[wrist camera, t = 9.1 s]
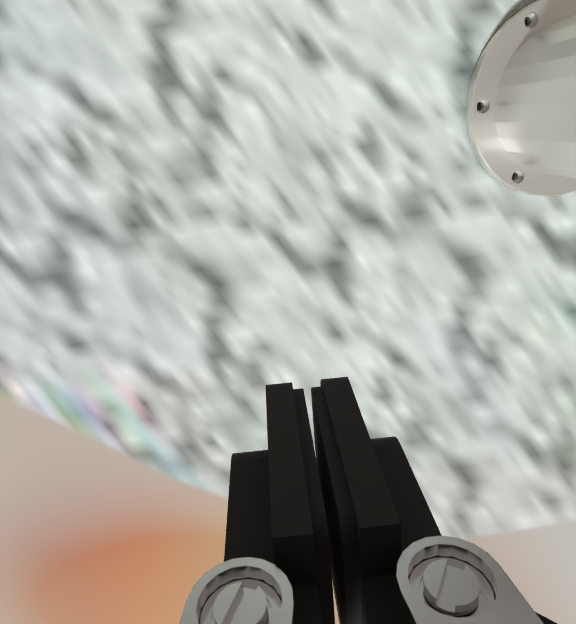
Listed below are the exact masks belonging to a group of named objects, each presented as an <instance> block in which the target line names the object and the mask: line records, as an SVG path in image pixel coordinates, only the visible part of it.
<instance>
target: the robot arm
mask: <svg viewBox="0 0 576 624" xmlns="http://www.w3.org/2000/svg"><path fill="white" fill-rule="evenodd" d="M525 19H526V20H527V22H528V23H527V26H526V25H525V22H524V20H525ZM478 103H480V104H481V108H480V109H479V110H477V104H478ZM466 121H467V131H468V135H469V138H470V142H471V146H472V148H473V150H474V152H475V154H476V156H477V158H478V160H479V162H480V163H481V165H482V166H483V167H484V168H485V169H486V171H487V172H488V173H489V174H490V175H491V176H492V177H493V178H495V179H496V180H497V181H499V182H500V183H501V184H503V185H505V186H507V187H509V188H511V189H513V190H515V191H519V192H523V193H526V194H530V195H539V196H553V195H562V194H566V193H569V192H573V191H576V0H537V1H535V2H534V3H532V4H530V5H528V6H526V7H524V8H523V9H521V10H520V11H519V12H517V13H516V14H515V15H514V16H512V17H511V18H510V19H509V20H507V21H506V22H505V23H504V25H503V26H502V27H501V28H500V29H499V30H498V31H497V32H496V33H495V34H494V36H493V37H492V38H491V40H490V41H489V43H488V44H487V46H486V48H485V49H484V51H483V52H482V54H481V56H480V58H479V60H478V62H477V65H476V67H475V69H474V71H473V74H472V78H471V82H470V85H469V89H468V93H467V104H466ZM514 173H515V177H514V178H513V179H512V175H513V174H514ZM311 395H312V409H313V423H314V437H315V451H316V457H315V451H314V446H313V440H312V435H311V429H310V424H309V418H308V413H307V407H306V401H305V396H304V390H303V389H293V386H292V383H282V384H272V385H266V406H267V431H268V450H262V451H253V452H243V453H234V454H232V458H231V471H230V485H229V499H228V513H227V527H226V541H225V543H226V544H225V556H224V562H223V563H220V564H218V565H216V566H215V567H213V568H212V569H210V570H209V571H207V572H206V573H205V574H203V576H202V577H201V578H200V579H199V580H198V581H197V582H196V584H195V585H194V586H193V588H192V590H191V592H190V594H189V596H188V598H187V600H186V604H185V607H184V610H183V614H182V617H181V620H180V623H179V624H335V617H334V602H333V587H334V593H335V599H336V605H337V611H338V617H339V623H340V624H557V623H555V622H553V621H551V620H549V619H548V618H546V617H544V616H542V615H540V614H538V613H536V612H534V610H533V609H532V608H531V606H530V605H529V604H528V602H527V601H526V600H525V598H524V597H523V595H522V594H521V593H520V592H519V590H518V589H517V587H516V586H515V585H514V583H513V582H512V581H511V579H510V578H509V577H508V576H507V574H506V573H505V572H504V570H503V569H502V567H501V566H500V565H499V564H498V563H497V562H496V561H495V560H494V559H493V558H492V557H491V555H489V553H487V552H486V551H484V550H483V549H481V548H479V547H478V546H476V545H475V544H473V543H470V542H468V541H465V540H462V539H459V538H455V537H448V536H441V533H440V531H439V529H438V527H437V525H436V522H435V520H434V518H433V516H432V513H431V511H430V509H429V507H428V505H427V502H426V500H425V498H424V496H423V493H422V491H421V489H420V487H419V485H418V482H417V480H416V478H415V476H414V473H413V471H412V469H411V467H410V465H409V462H408V460H407V458H406V456H405V453H404V451H403V449H402V447H401V445H400V443H399V441H398V439H397V438H396V437H386V438H377V439H370V437H369V434H368V431H367V429H366V426H365V423H364V420H363V418H362V415H361V412H360V409H359V407H358V404H357V401H356V398H355V396H354V393H353V390H352V387H351V385H350V382H349V379H348V377H341V378H332V379H322V380H321V387H312V388H311ZM332 581H333V587H332Z"/></svg>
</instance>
